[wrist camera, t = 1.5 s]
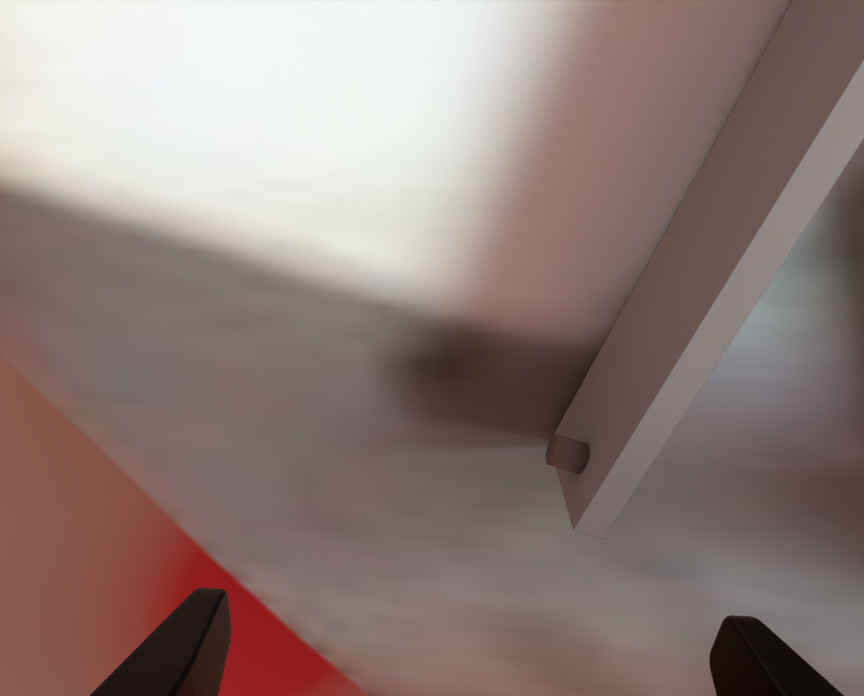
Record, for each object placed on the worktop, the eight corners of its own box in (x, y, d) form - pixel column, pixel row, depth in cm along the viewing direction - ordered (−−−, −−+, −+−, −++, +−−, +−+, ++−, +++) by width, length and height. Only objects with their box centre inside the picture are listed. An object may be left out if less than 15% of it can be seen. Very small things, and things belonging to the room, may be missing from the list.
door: (574, 450, 24) (604, 541, 20) (523, 434, 23) (543, 523, 19) (945, -195, 15) (1135, -273, 11) (874, -234, 15) (1042, -328, 11)
